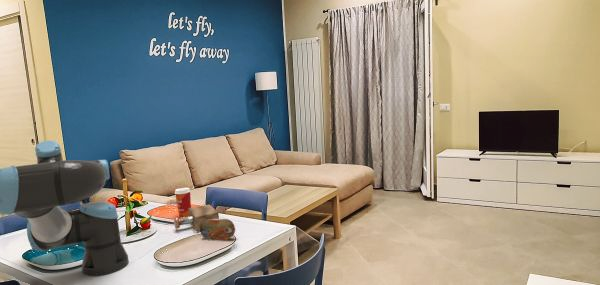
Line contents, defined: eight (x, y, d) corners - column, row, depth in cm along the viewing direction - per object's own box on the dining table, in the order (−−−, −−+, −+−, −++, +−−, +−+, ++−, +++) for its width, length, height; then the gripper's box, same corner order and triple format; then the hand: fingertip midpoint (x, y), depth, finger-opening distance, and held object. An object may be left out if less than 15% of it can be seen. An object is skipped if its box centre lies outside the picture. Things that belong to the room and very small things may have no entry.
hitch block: (197, 232, 177) (195, 217, 176) (189, 222, 191) (188, 208, 190) (219, 227, 181) (218, 212, 180) (211, 218, 196) (209, 204, 195)
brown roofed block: (176, 230, 178) (175, 218, 178) (174, 226, 183) (173, 215, 182) (207, 223, 184) (206, 212, 184) (205, 220, 189) (203, 209, 188)
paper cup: (176, 216, 203) (173, 188, 201) (191, 213, 206) (189, 186, 205) (178, 220, 196) (175, 192, 194) (194, 217, 199) (191, 189, 197)
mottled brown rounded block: (200, 239, 169) (198, 219, 168) (204, 236, 172) (202, 217, 171) (233, 241, 164) (231, 220, 163) (237, 238, 167) (235, 218, 166)
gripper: (91, 164, 160) (97, 200, 173) (15, 174, 149) (27, 211, 163) (92, 178, 155) (98, 214, 168) (14, 189, 144) (27, 226, 158)
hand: (64, 213), depth 166 cm, fingers open, 13 cm apart
